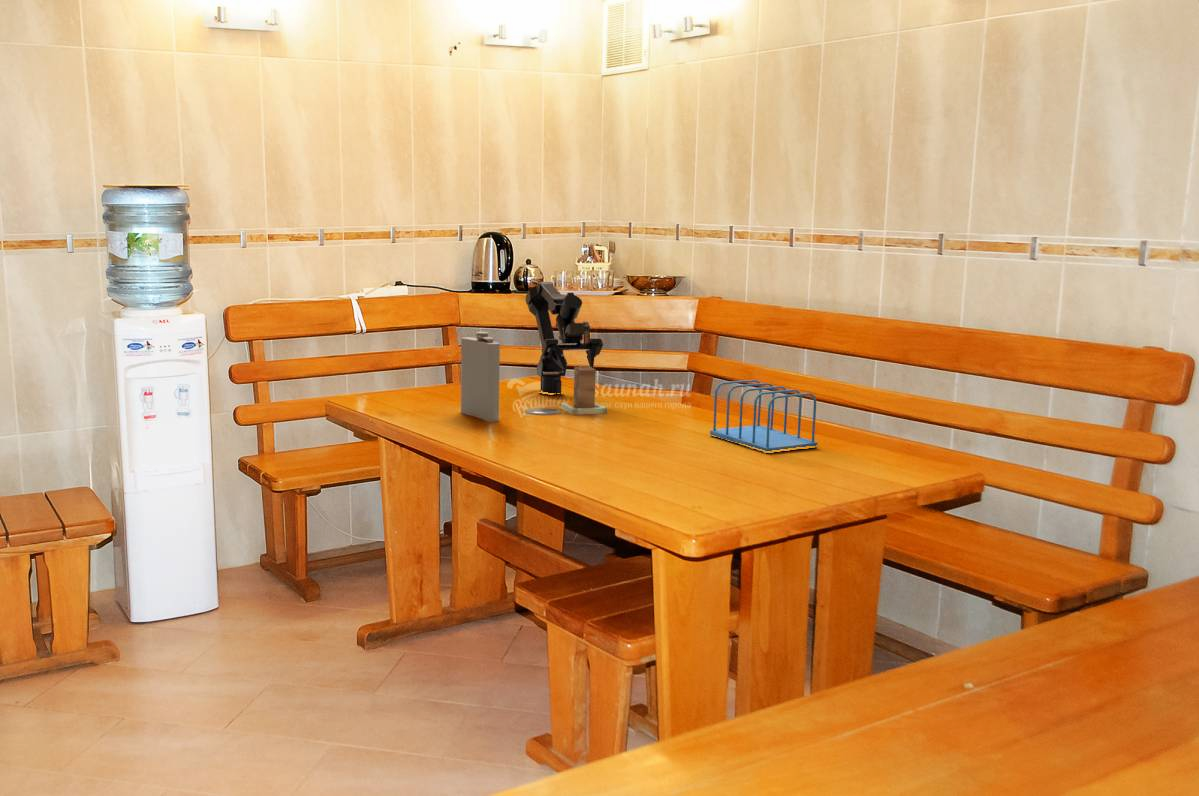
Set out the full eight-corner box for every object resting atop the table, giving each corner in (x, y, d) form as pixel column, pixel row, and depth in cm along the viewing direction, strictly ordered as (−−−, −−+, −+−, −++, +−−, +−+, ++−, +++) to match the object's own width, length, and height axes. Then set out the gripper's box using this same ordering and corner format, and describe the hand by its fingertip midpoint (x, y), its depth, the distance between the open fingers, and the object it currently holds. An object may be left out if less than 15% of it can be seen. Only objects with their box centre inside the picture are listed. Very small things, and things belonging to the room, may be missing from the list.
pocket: (560, 409, 341) (561, 403, 340) (594, 408, 344) (594, 402, 344) (572, 416, 330) (572, 409, 330) (607, 414, 334) (607, 408, 334)
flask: (503, 420, 321) (504, 334, 316) (489, 422, 318) (490, 335, 314) (472, 411, 334) (473, 328, 330) (458, 412, 331) (459, 329, 327)
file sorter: (709, 436, 307) (711, 382, 304) (758, 431, 316) (761, 378, 313) (766, 455, 286) (769, 396, 283) (817, 449, 295) (821, 392, 292)
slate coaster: (516, 413, 333) (516, 411, 333) (541, 408, 341) (541, 406, 341) (543, 418, 326) (543, 416, 326) (568, 413, 334) (568, 411, 334)
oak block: (573, 409, 339) (574, 367, 337) (588, 408, 341) (589, 366, 338) (578, 412, 334) (579, 369, 332) (594, 411, 336) (595, 369, 334)
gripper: (545, 313, 340) (555, 353, 332) (602, 312, 346) (613, 352, 338) (537, 335, 348) (547, 375, 340) (592, 335, 355) (604, 374, 347)
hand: (578, 368), depth 341 cm, fingers open, 9 cm apart
